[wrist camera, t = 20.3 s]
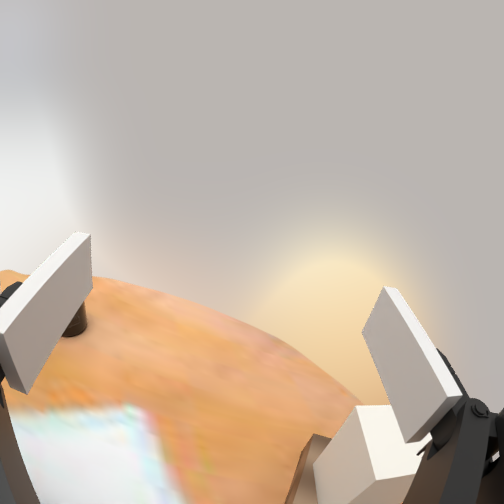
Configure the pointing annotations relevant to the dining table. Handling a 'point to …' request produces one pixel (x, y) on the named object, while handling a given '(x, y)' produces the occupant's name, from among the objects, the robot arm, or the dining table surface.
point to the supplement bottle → (77, 322)
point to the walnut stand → (307, 473)
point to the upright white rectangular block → (367, 460)
